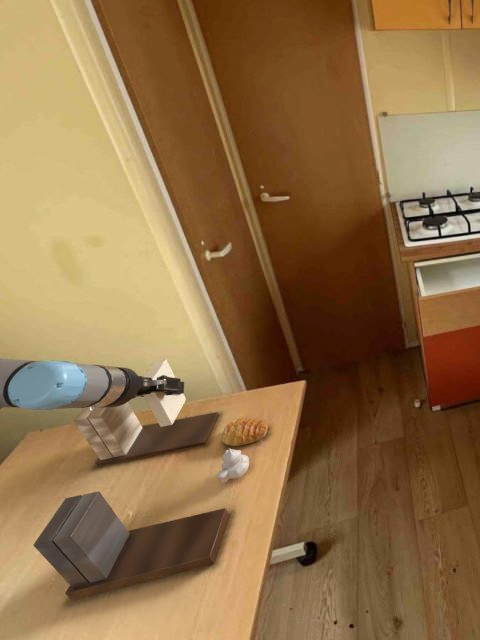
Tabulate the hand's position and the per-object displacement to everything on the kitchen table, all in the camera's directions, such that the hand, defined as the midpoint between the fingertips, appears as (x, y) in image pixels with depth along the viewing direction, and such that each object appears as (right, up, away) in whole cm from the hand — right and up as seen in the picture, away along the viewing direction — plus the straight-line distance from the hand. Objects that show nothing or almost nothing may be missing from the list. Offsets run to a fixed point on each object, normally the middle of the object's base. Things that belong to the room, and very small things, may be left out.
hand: (174, 389), depth 102 cm
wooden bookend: (-4, -12, +1) cm, 13 cm away
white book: (+1, -5, -2) cm, 6 cm away
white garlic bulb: (+20, -17, -8) cm, 27 cm away
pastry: (+16, -12, +2) cm, 20 cm away
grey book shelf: (+15, -24, -22) cm, 36 cm away
